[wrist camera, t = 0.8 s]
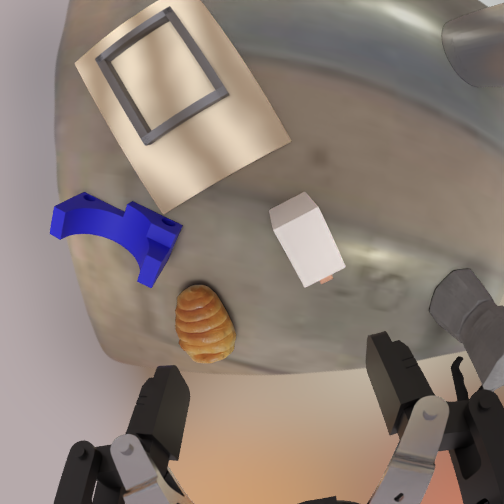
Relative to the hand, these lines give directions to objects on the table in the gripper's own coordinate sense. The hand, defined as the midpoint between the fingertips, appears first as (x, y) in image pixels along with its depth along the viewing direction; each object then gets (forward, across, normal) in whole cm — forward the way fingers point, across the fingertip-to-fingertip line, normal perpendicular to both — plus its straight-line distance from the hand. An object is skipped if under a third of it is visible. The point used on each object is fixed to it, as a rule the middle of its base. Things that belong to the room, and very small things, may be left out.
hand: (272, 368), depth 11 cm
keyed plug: (+19, -4, +1) cm, 19 cm away
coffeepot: (+19, -24, +16) cm, 35 cm away
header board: (+19, +6, -15) cm, 25 cm away
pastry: (+20, +6, +8) cm, 22 cm away
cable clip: (+19, +14, -3) cm, 24 cm away
